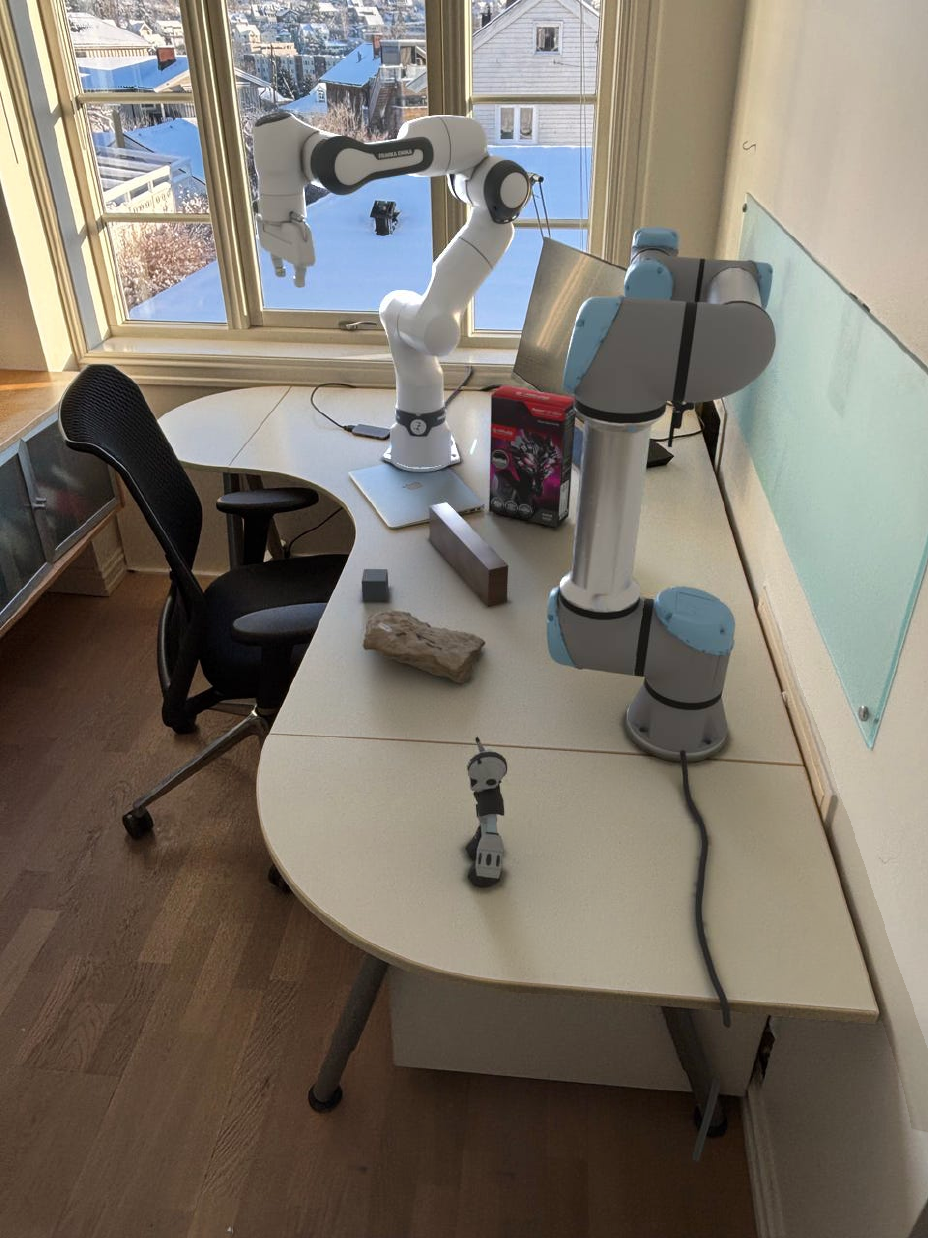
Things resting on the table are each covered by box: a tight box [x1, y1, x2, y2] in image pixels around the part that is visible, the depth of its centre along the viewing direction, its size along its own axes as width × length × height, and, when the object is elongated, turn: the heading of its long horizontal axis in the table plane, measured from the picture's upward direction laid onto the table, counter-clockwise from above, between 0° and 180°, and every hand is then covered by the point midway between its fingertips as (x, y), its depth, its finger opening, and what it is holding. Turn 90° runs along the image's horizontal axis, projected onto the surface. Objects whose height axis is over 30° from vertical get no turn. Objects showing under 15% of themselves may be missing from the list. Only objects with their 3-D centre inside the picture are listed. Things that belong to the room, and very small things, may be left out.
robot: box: [465, 736, 508, 888], centre depth 115 cm, size 20×5×20 cm, turn 3°
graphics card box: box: [488, 384, 577, 528], centre depth 195 cm, size 17×7×27 cm, turn 62°
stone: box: [362, 609, 486, 684], centre depth 156 cm, size 21×15×6 cm
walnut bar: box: [428, 501, 509, 607], centre depth 181 cm, size 28×4×8 cm, turn 25°
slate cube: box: [361, 568, 389, 603], centre depth 174 cm, size 4×4×4 cm
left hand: (290, 281), depth 187 cm, fingers open, 8 cm apart
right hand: (632, 441), depth 170 cm, fingers open, 13 cm apart
